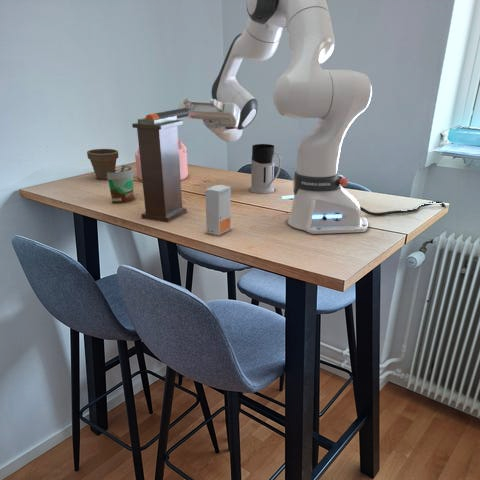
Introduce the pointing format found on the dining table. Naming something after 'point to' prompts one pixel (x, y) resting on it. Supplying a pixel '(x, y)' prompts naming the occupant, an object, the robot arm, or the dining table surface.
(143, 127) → the stand
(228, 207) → the cosmetic box
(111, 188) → the food container
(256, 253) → the dining table surface
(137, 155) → the cake
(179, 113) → the marker
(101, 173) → the flower pot
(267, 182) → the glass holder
